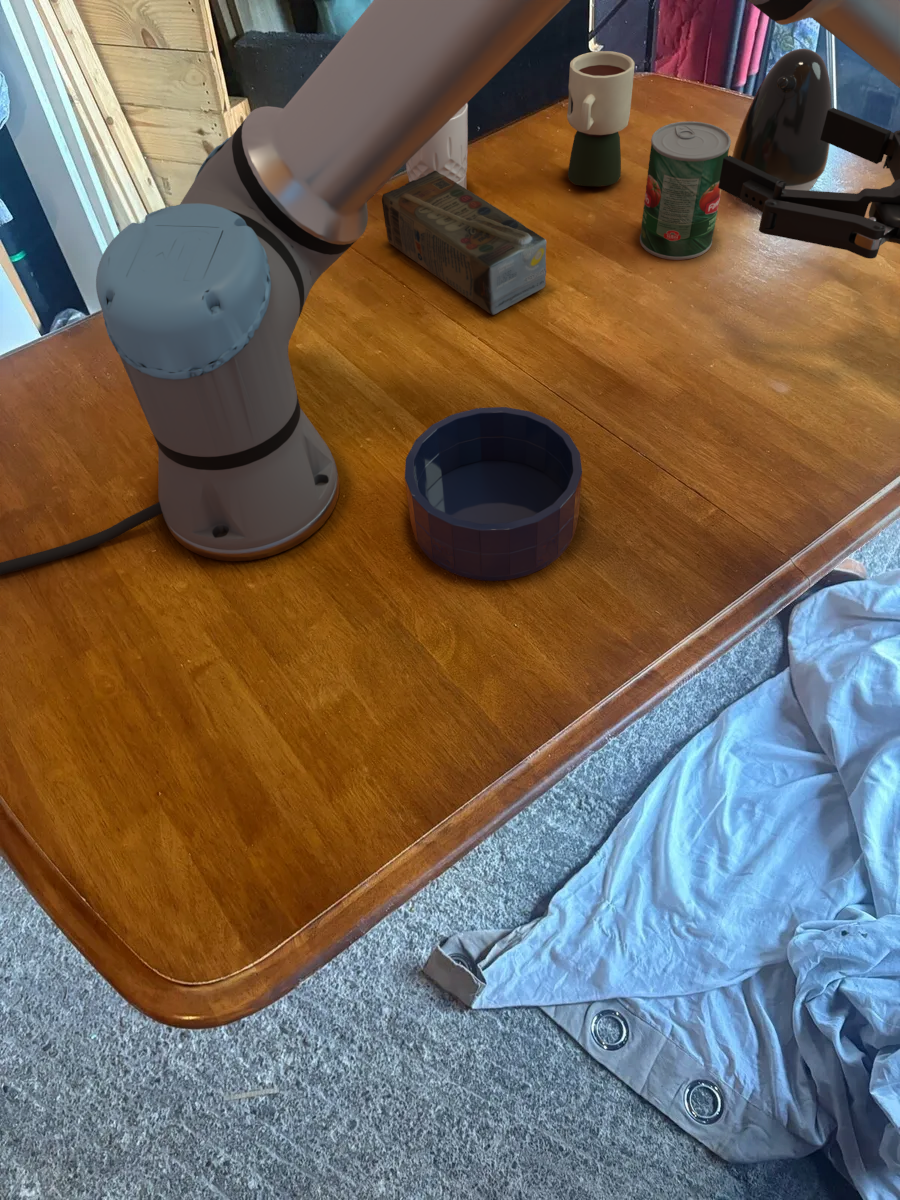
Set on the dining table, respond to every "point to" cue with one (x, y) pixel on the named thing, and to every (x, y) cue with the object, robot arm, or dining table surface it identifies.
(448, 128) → the white cup
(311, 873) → the dining table surface
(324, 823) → the dining table surface
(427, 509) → the pot
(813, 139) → the dark brown egg shape
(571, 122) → the character mug
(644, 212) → the canned tomato
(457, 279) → the beverage carton
